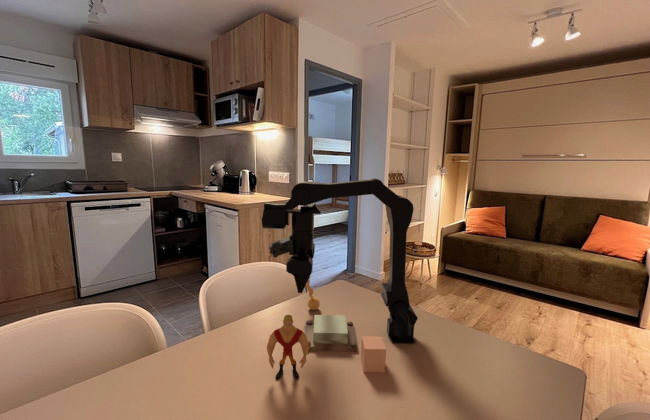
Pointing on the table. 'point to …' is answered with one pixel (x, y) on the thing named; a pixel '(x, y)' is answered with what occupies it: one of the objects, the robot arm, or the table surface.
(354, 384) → the table surface
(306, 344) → the action figure
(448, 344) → the table surface
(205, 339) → the table surface
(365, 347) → the terracotta brick
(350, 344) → the tower base
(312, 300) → the figurine
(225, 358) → the table surface
